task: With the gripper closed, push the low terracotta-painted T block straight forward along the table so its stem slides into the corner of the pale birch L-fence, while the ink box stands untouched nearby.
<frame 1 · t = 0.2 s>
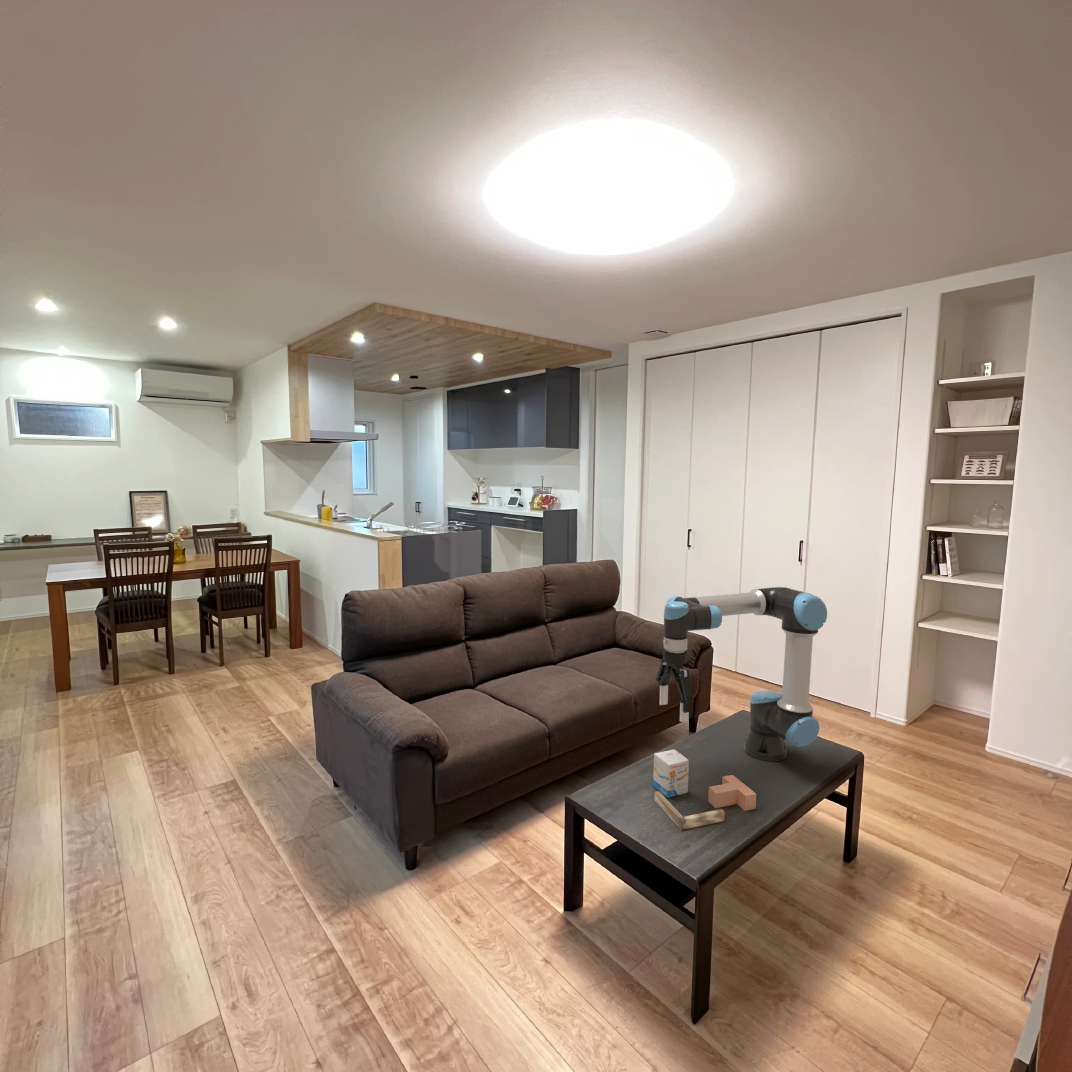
hand: (673, 712, 187), 28 cm above the table, fingers open, 13 cm apart
t block: (727, 801, 185), on the table
ink box: (670, 789, 192), on the table
corner fence: (682, 826, 172), on the table
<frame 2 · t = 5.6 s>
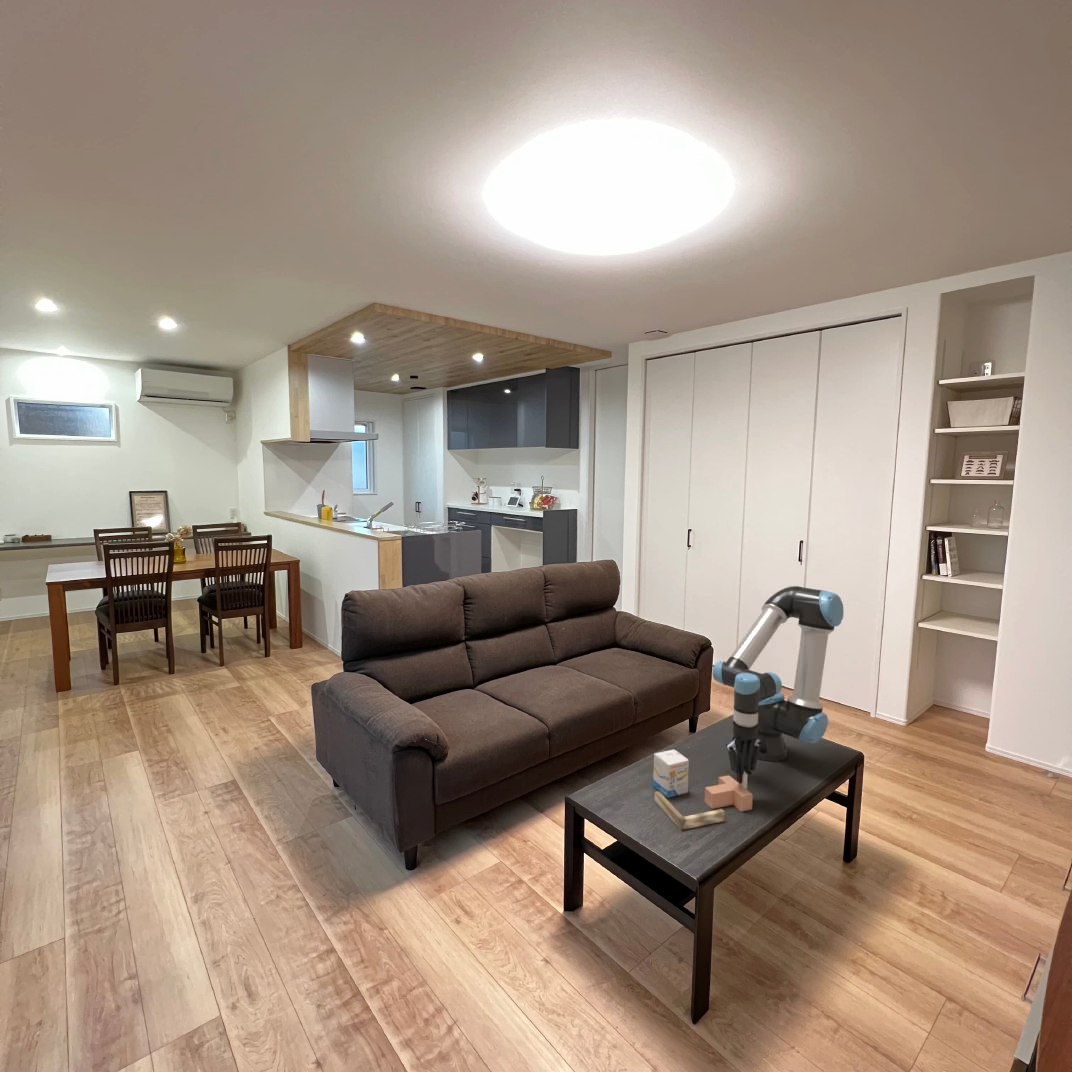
hand: (742, 791, 186), 3 cm above the table, fingers closed
t block: (724, 802, 184), on the table
everything else where it was.
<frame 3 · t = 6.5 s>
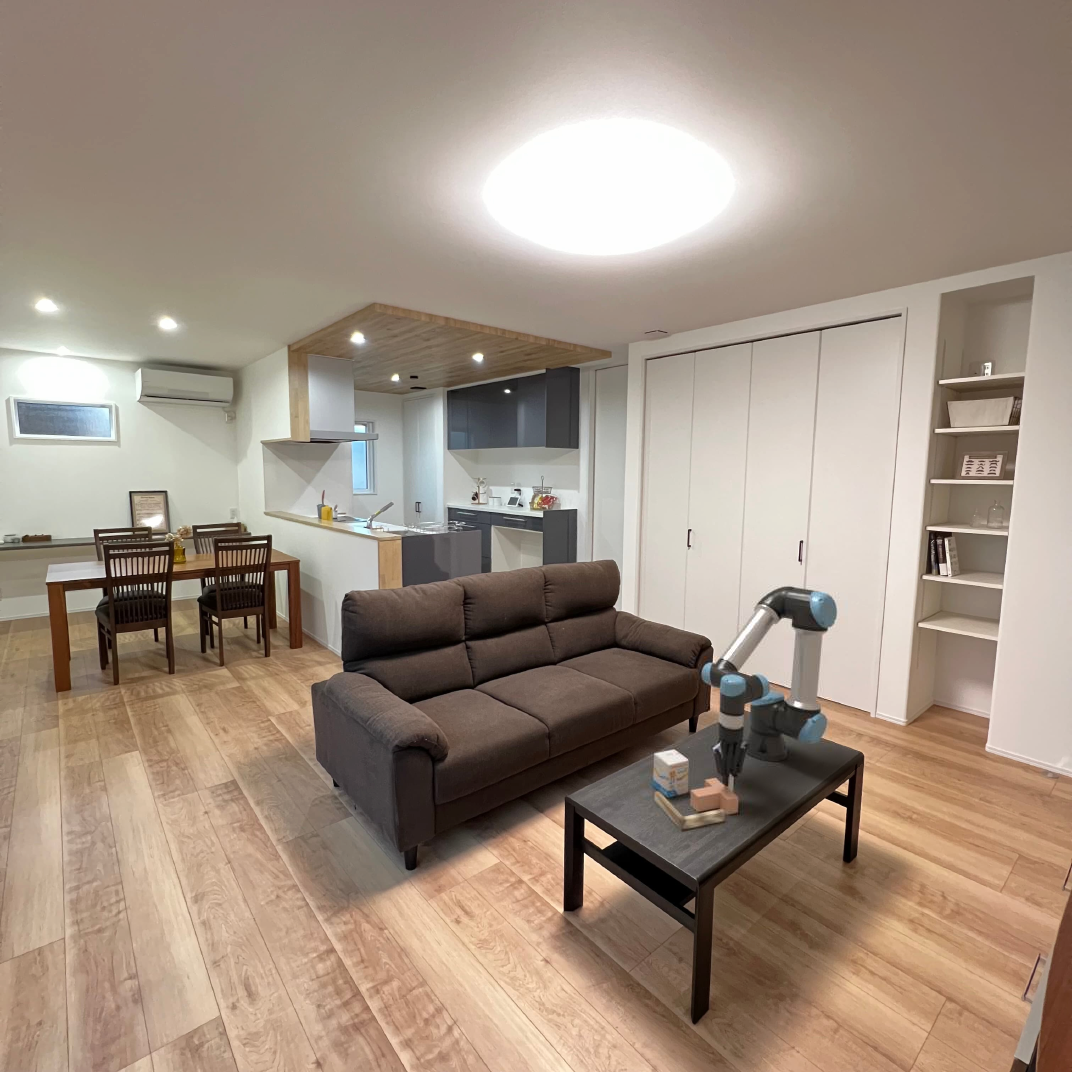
hand: (728, 794, 184), 3 cm above the table, fingers closed
t block: (710, 805, 183), on the table, touching gripper
everything else where it was.
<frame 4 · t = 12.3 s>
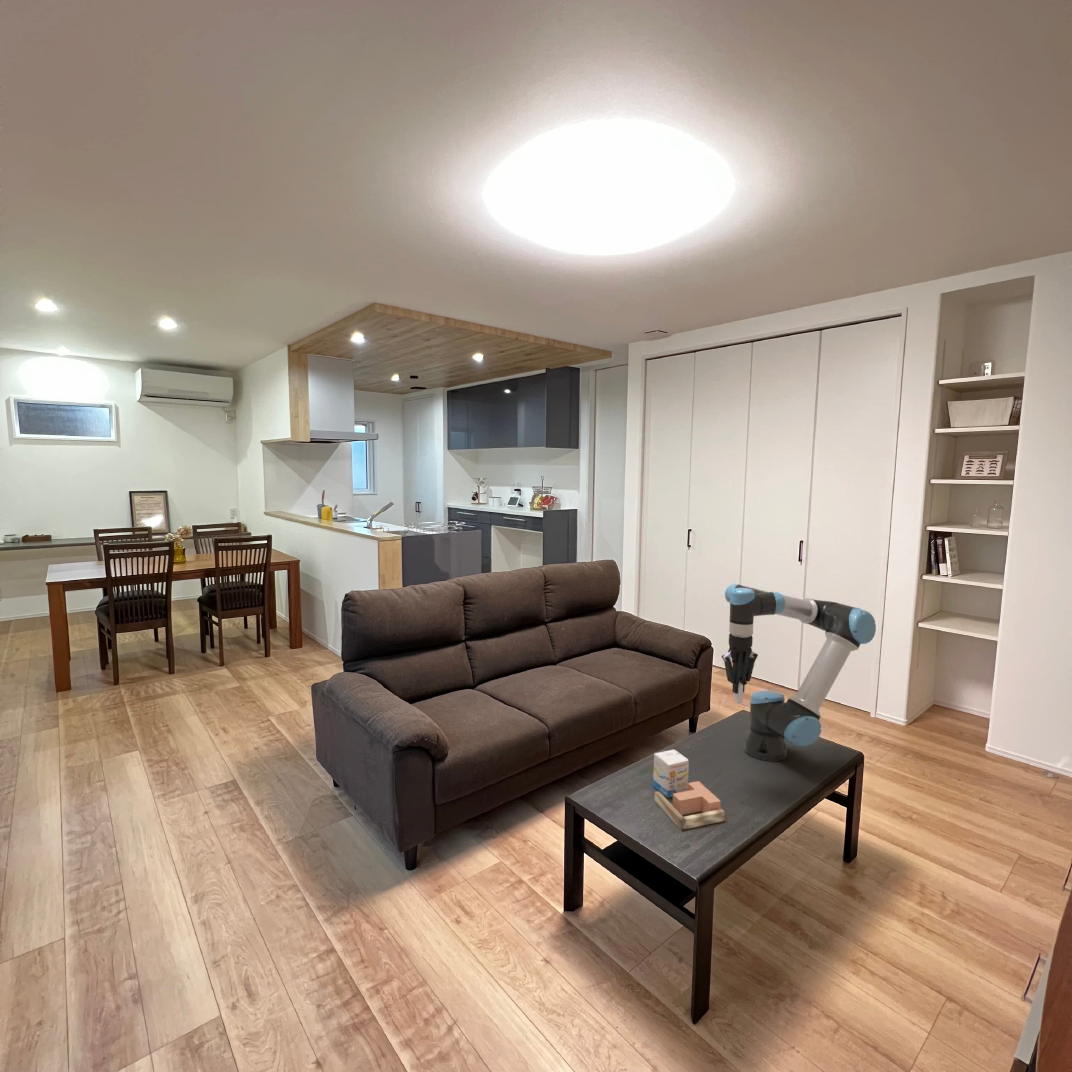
hand: (737, 701, 194), 28 cm above the table, fingers closed
t block: (692, 808, 181), on the table
everything else where it was.
at the end: t block inside the target area (1.9 cm from its centre), on the table; t block tilted 0°; t block moved 13.2 cm from its start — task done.
